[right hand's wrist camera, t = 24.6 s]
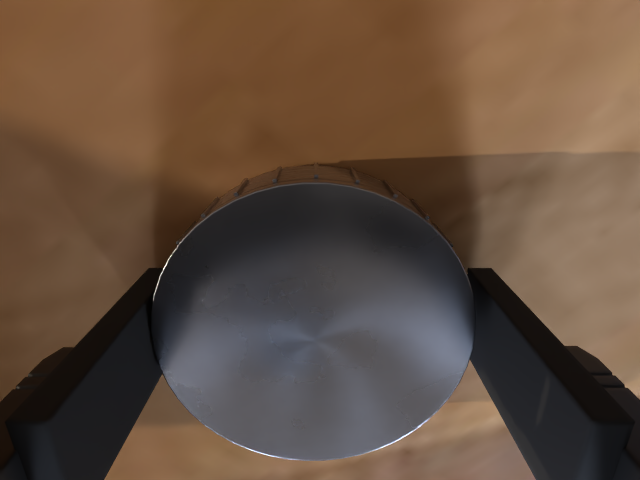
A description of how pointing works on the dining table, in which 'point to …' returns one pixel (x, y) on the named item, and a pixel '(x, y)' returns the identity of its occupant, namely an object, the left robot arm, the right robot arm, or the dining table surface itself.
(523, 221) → the dining table surface
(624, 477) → the right robot arm
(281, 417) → the lid
